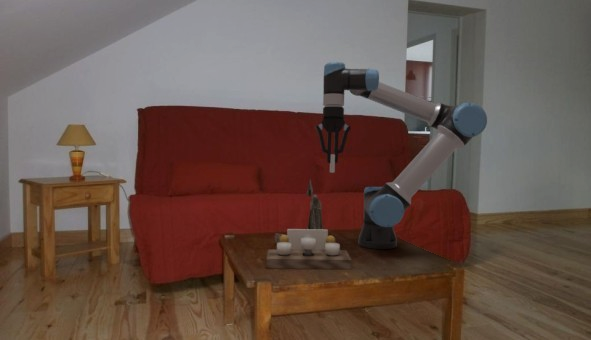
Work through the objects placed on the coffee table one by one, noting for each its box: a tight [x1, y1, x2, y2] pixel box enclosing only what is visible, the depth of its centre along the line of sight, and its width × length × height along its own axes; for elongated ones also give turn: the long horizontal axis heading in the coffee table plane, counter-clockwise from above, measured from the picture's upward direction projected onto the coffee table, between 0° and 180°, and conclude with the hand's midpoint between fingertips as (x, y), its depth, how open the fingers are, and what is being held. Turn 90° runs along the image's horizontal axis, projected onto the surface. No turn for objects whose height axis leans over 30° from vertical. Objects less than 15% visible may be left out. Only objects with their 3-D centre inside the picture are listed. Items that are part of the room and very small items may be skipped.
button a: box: [325, 242, 341, 256], centre depth 141 cm, size 5×5×6 cm
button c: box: [276, 242, 291, 256], centre depth 141 cm, size 5×5×6 cm
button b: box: [301, 237, 316, 256], centre depth 141 cm, size 5×5×6 cm
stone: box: [274, 233, 287, 244], centre depth 165 cm, size 9×11×5 cm
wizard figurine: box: [306, 178, 324, 229], centre depth 178 cm, size 10×8×25 cm
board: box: [265, 248, 352, 270], centre depth 141 cm, size 27×12×3 cm, turn 91°
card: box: [280, 228, 336, 250], centre depth 147 cm, size 19×1×10 cm, turn 91°
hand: (332, 172), depth 155 cm, fingers closed
